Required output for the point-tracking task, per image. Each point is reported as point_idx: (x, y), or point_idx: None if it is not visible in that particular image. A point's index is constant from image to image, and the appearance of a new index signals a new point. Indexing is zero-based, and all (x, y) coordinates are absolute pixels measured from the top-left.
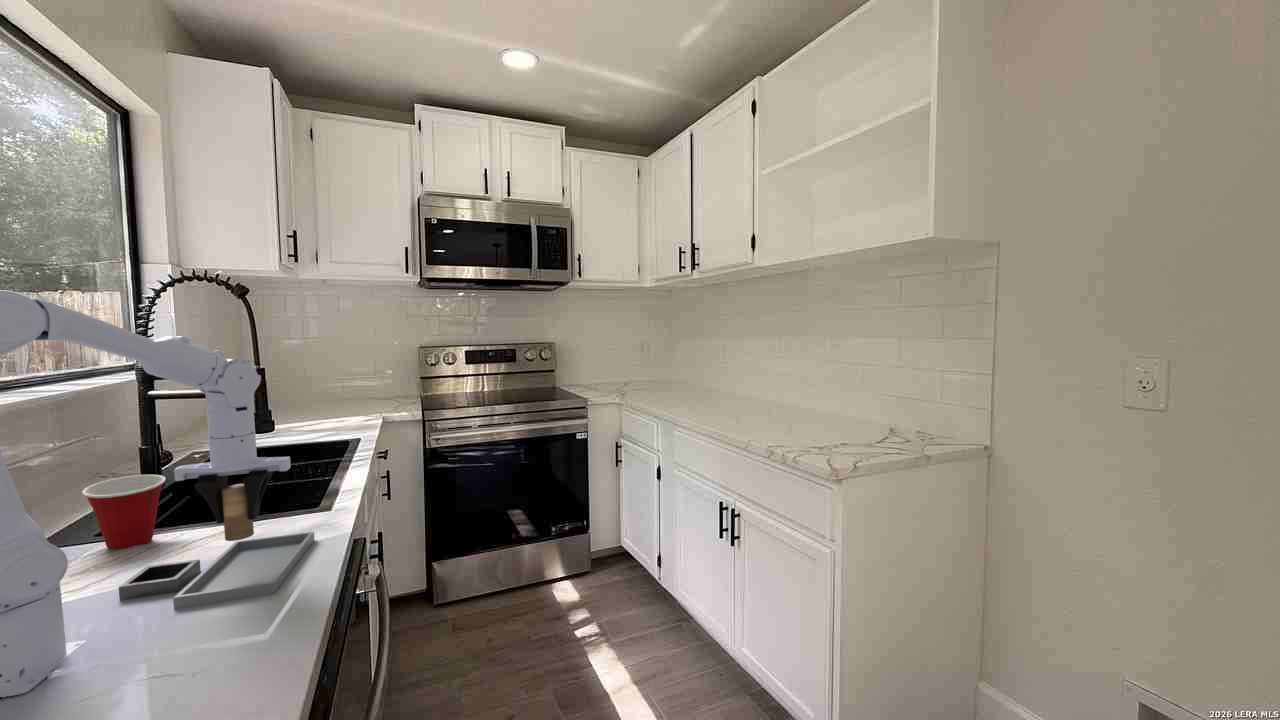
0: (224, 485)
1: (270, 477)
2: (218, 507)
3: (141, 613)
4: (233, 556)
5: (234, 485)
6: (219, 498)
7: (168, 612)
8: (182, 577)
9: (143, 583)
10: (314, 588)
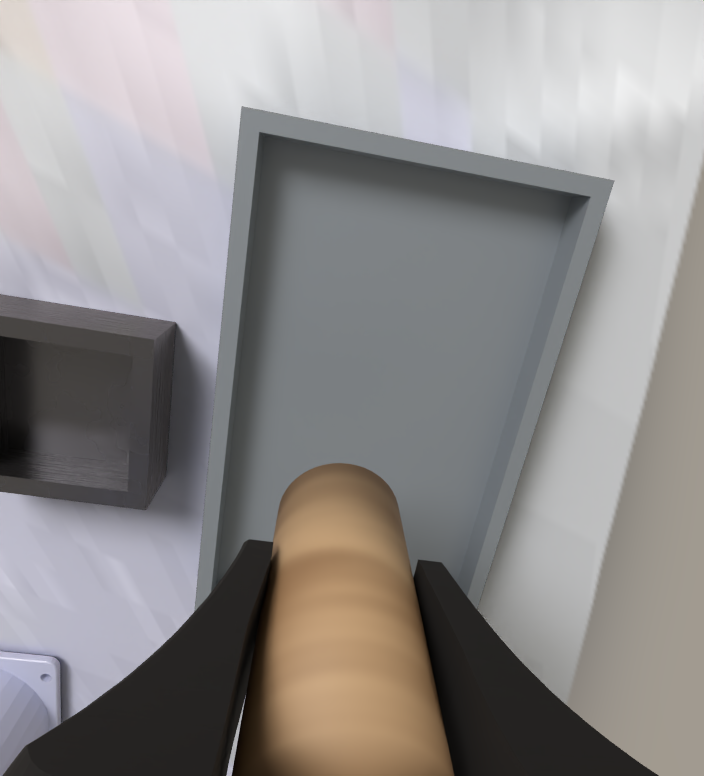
0: (220, 760)
1: (650, 772)
2: (239, 717)
3: (108, 545)
4: (260, 224)
5: (313, 759)
6: (228, 755)
7: (186, 573)
8: (152, 466)
9: (38, 493)
10: (552, 607)
